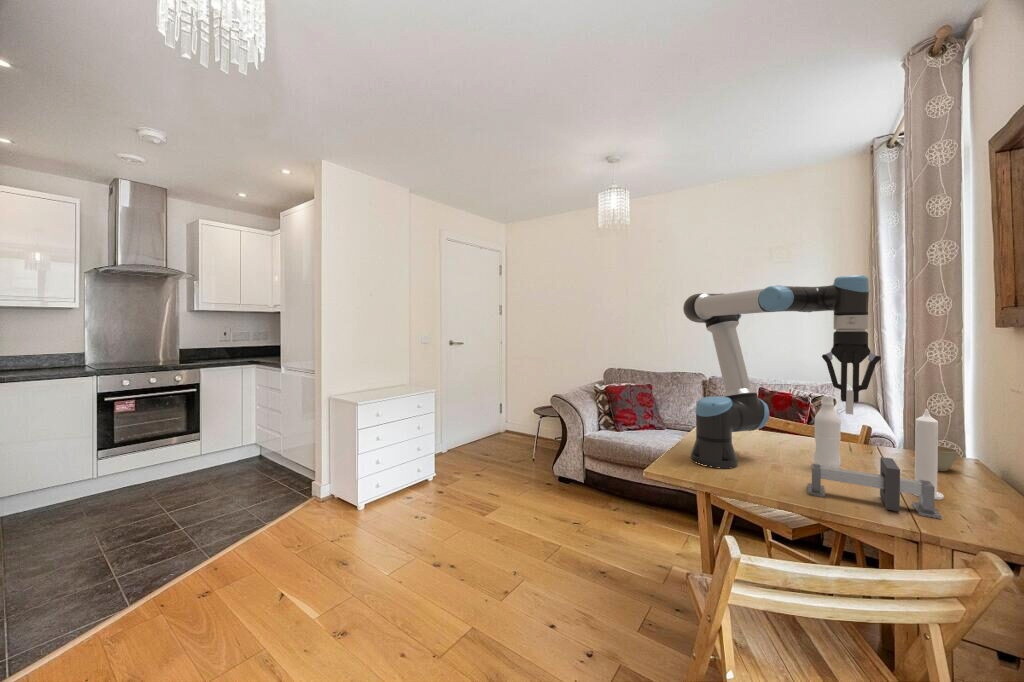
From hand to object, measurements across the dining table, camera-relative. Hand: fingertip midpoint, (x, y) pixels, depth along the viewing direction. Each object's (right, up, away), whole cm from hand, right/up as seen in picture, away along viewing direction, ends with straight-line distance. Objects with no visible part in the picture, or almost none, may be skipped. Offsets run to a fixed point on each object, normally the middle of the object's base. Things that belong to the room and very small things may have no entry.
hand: (849, 413), depth 113 cm
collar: (+7, -24, -5) cm, 26 cm away
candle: (+24, -24, +2) cm, 34 cm away
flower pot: (+49, -23, +23) cm, 59 cm away
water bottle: (+12, -24, +23) cm, 35 cm away
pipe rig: (+3, -24, -2) cm, 24 cm away
